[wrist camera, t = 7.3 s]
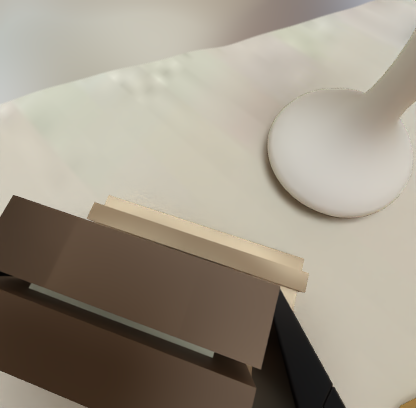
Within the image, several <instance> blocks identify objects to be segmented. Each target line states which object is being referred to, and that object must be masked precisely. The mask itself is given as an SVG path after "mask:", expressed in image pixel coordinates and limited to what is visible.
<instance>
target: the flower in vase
mask: <svg viewBox="0 0 416 408" xmlns="http://www.w3.org/2000/svg"><path fill="white" fill-rule="evenodd" d="M415 101H416V29H415V31H414V32H413V34H412V36H411V38H410V39H409V41H408V42H407V44H406V45H405V47H404V48H403V50H402V51H401V53H400V54H399V55H398V57H397V58H396V60H395V61H394V62H393V64H392V65H391V66H390V67H389V69H388V70H387V71H386V72H385V74H384V75H383V76H382V77H381V78H380V79H379V80H378V81H377V83H376V84H375V85H374V86H373V87H372V88H371V89H369V90H368V91H367V92H366V93H364V92H361V91H357V90H352V89H344V88H330V89H320V90H315V91H312V92H308V93H306V94H304V95H301V96H300V97H298V98H296V99H295V100H293V101H292V102H291V103H289V104H288V105H287V106H286V107H284V108H283V109H282V110H281V112H280V113H279V114H278V115H277V117H276V118H275V119H274V121H273V123H272V125H271V128H270V131H269V135H268V156H269V161H270V164H271V167H272V169H273V171H274V174H275V175H276V177H277V179H278V180H279V182H280V183H281V184H282V186H283V187H284V188H285V189H286V190H287V191H288V192H289V193H290V194H291V195H292V196H293V197H294V198H295V199H297V200H298V201H299V202H301V203H302V204H304V205H306V206H307V207H309V208H311V209H313V210H315V211H318V212H320V213H323V214H326V215H330V216H335V217H344V218H354V217H362V216H367V215H371V214H373V213H376V212H378V211H380V210H382V209H384V208H386V207H387V206H389V205H390V204H391V203H392V202H393V201H394V200H395V199H396V198H397V197H398V196H399V195H400V193H401V192H402V191H403V189H404V188H405V186H406V185H407V183H408V181H409V179H410V177H411V173H412V170H413V150H412V144H411V139H410V136H409V133H408V131H407V129H406V127H405V125H404V123H403V122H402V120H401V119H400V116H401V115H402V114H403V113H404V111H405V110H406V109H407V108H409V107H410V106H411V105H412V104H413V103H414V102H415Z"/></svg>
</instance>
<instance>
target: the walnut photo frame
mask: <svg viewBox="0 0 416 408" xmlns="http://www.w3.org/2000/svg"><path fill="white" fill-rule="evenodd" d="M0 271H1V272H3V273H6V274H9V275H11V276H0V371H2V372H5V373H7V374H10V375H12V376H14V377H17V378H19V379H21V380H24V381H26V382H29V383H31V384H33V385H36V386H38V387H40V388H43V389H45V390H48V391H50V392H52V393H55V394H57V395H59V396H62V397H64V398H66V399H69V400H71V401H74V402H76V403H78V404H81V405H83V406H85V407H88V408H252V405H253V401H254V397H255V393H256V386H255V384H254V381H253V379H252V377H251V374H250V372H249V370H248V367H247V365H250V366H253V367H255V368H258V369H261V367H262V363H263V359H264V354H265V350H266V346H267V342H268V337H269V333H270V329H271V324H272V320H273V316H274V312H275V307H276V303H277V299H278V295H279V290H280V286H279V285H276V284H273V283H270V282H267V281H265V280H262V279H259V278H256V277H253V276H250V275H247V274H244V273H241V272H238V271H235V270H232V269H229V268H226V267H223V266H221V265H218V264H215V263H212V262H209V261H206V260H203V259H200V258H197V257H194V256H191V255H188V254H185V253H182V252H179V251H176V250H174V249H171V248H168V247H165V246H162V245H159V244H156V243H153V242H150V241H147V240H144V239H141V238H138V237H135V236H132V235H130V234H127V233H124V232H121V231H118V230H115V229H112V228H109V227H106V226H103V225H100V224H97V223H94V222H91V221H88V220H85V219H83V218H80V217H77V216H74V215H71V214H68V213H65V212H62V211H59V210H56V209H53V208H50V207H47V206H44V205H41V204H39V203H36V202H33V201H30V200H27V199H24V198H21V197H18V196H15V195H13V196H12V198H11V200H10V201H9V203H8V205H7V206H6V208H5V210H4V212H3V213H2V215H1V217H0ZM12 276H14V277H12ZM246 364H247V365H246Z"/></svg>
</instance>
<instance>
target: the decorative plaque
mask: <svg viewBox="0 0 416 408" xmlns="http://www.w3.org/2000/svg"><path fill="white" fill-rule="evenodd" d="M399 408H416V398H414V399H412V400H411V401H409V402H407V403H405V404H403V405H401V406H400V407H399Z"/></svg>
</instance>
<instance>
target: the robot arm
mask: <svg viewBox="0 0 416 408" xmlns="http://www.w3.org/2000/svg"><path fill="white" fill-rule="evenodd" d="M0 276H11V275H9V274H6V273H3V272H1V271H0ZM12 277H14V276H12ZM252 379H253V381H254V384H255V386H256V393H255V397H254V401H253V405H252V408H346V407H345V405H344V403H343V402H342V400H341V398H340V396H339V394H338V393H337V391H336V389H335V387H332V386H333V384H332V382H331V380H330V378H329V376H328V375H327V373H326V371H325V369H324V367H323V365H322V364H321V362H320V360H319V358H318V356H317V354H316V353H315V351H314V349H313V347H312V345H311V344H310V342H309V340H308V338H307V336H306V334H305V333H304V331H303V329H302V327H301V325H300V323H299V322H298V320H297V318H296V316H295V314H294V312H293V311H292V309H291V307H290V305H289V303H288V302H287V300H286V298H285V296H284V294H283V292H282V291H281V289H280V290H279V295H278V299H277V303H276V307H275V312H274V316H273V320H272V324H271V329H270V333H269V337H268V342H267V346H266V350H265V354H264V359H263V363H262V367H261V369H258V368H255V367H253V366H252Z"/></svg>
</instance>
